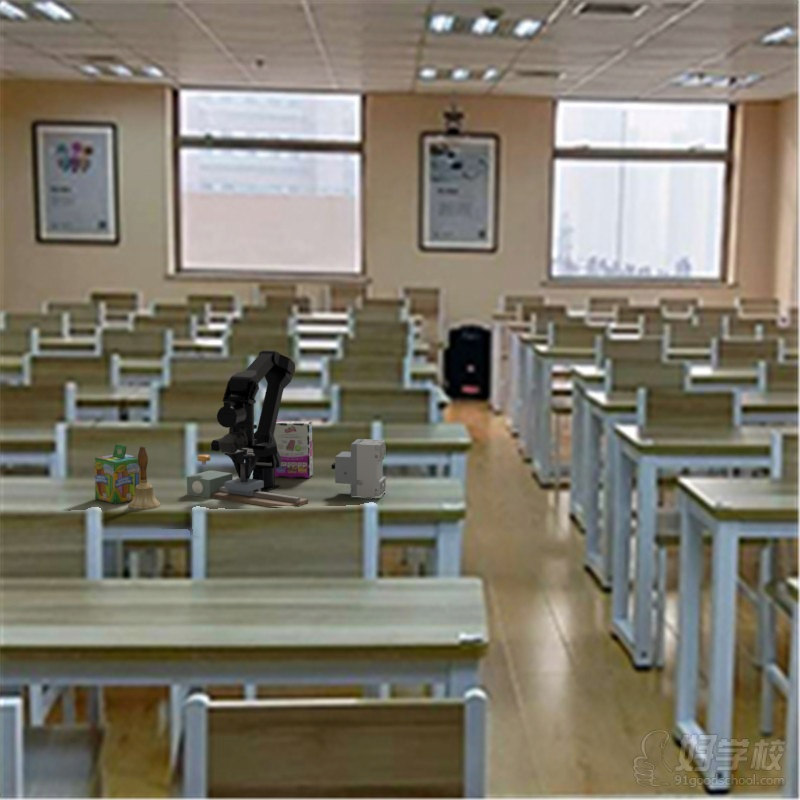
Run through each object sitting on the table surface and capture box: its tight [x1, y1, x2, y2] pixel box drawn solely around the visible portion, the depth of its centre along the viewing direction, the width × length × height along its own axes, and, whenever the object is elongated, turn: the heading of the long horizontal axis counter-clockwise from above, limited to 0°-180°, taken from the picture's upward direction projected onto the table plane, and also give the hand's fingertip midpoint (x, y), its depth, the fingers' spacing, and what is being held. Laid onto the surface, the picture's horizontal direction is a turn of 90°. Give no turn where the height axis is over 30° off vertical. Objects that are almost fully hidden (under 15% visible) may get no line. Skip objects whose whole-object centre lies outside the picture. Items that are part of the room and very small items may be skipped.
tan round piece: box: [196, 454, 211, 466], centre depth 326 cm, size 4×4×2 cm
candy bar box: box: [274, 420, 314, 479], centre depth 347 cm, size 11×5×16 cm, turn 82°
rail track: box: [211, 486, 309, 507], centre depth 317 cm, size 9×26×2 cm, turn 60°
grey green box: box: [186, 469, 233, 499], centre depth 325 cm, size 10×8×5 cm
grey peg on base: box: [225, 462, 264, 496], centre depth 319 cm, size 7×8×8 cm
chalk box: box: [94, 443, 141, 505], centre depth 317 cm, size 9×9×15 cm
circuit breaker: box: [330, 438, 387, 498], centre depth 324 cm, size 8×14×15 cm, turn 78°
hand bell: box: [128, 446, 161, 510], centre depth 309 cm, size 8×8×16 cm
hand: (244, 478), depth 319 cm, fingers closed on grey peg on base, 2 cm apart
